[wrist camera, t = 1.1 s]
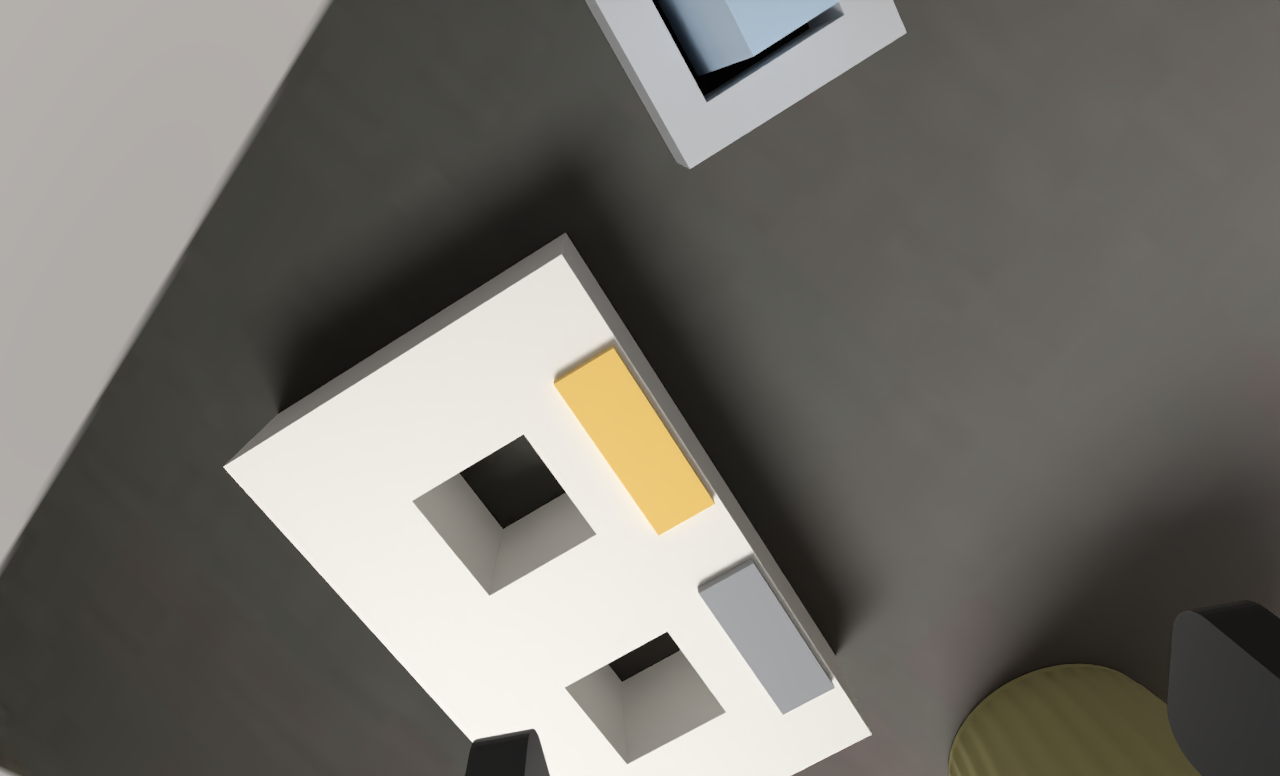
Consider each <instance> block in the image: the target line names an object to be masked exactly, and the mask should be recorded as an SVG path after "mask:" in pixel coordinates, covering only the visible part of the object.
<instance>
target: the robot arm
mask: <svg viewBox="0 0 1280 776" xmlns="http://www.w3.org/2000/svg"><path fill="white" fill-rule="evenodd" d="M1167 714H1168V720H1169V724H1170V727H1171V730H1172V733H1173V735H1174V737H1175V740H1176V742H1177V744H1178V746H1179V747H1180V749H1181V751H1182V752H1183V754H1184V755H1185V757H1186V758H1187V759H1188V761H1189V762H1190V763H1191V764H1192V766H1193V767H1194V768H1195V769H1196V770H1197V771H1198V772H1199V773H1200V774H1201V775H1202V776H1280V619H1279V618H1278V617H1277V616H1275V615H1274V614H1273V613H1271V612H1270V611H1268V610H1267V609H1266V608H1264V607H1263V606H1261V605H1259V604H1257V603H1255V602H1252V601H1247V600H1242V601H1237V602H1231V603H1226V604H1220V605H1215V606H1210V607H1204V608H1199V609H1193V610H1188V611H1183V612H1181V613H1179V614H1178V615H1177V617H1176V618H1175V621H1174V624H1173V633H1172V646H1171V660H1170V673H1169V686H1168V700H1167ZM465 776H550V774H549V771H548V767H547V764H546V760H545V757H544V753H543V750H542V746H541V743H540V739H539V736H538V734H537V732H536V730H534V729H529V730H523V731H518V732H512V733H507V734H501V735H496V736H491V737H485V738H480V739H476V740H474V742H473V743H472V746H471V749H470V754H469V759H468V764H467V769H466V774H465Z"/></svg>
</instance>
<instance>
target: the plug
mask: <svg viewBox="0 0 1280 776" xmlns="http://www.w3.org/2000/svg"><path fill="white" fill-rule="evenodd" d="M657 1H658V3H659V5H660V7H661V8H662V10H663V12H664V14H665V16H666V18H667V20H668V22H669V23H670V25H671V27H672V29H673V31H674V33H675V35H676V37H677V38H678V40H679V42H680V44H681V46H682V48H683V50H684V52H685V53H686V55H687V57H688V59H689V61H690V63H691V65H692V66H693V68H694V70H695V72H696V74H697V76H701V75H704V74H706V73H709V72H712V71H715V70H718V69H720V68H723V67H726V66H729V65H732V64H734V63H737V62H740V61H743V60H746V59H748V58H751V57H754V56H755V55H757V54H758V53H760V52H762V51H763V50H765V49H766V48H768V47H769V46H771V45H772V44H774V43H776V42H777V41H779V40H780V39H782V38H783V37H785V36H786V35H788V34H790V33H791V32H793V31H794V30H796V29H797V28H799V27H800V26H802V25H804V24H805V23H807V22H808V21H810V20H811V19H813V18H814V17H816V16H818V15H819V14H821V13H822V12H824V11H825V10H827V9H828V8H830V7H832V6H833V5H835V4H836V3H838V2H839V1H841V0H657Z"/></svg>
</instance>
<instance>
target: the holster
mask: <svg viewBox="0 0 1280 776" xmlns="http://www.w3.org/2000/svg"><path fill="white" fill-rule="evenodd" d="M585 1H586V3H587V5H588V7H589V8H590V10H591V12H592V14H593V15H594V17H595V19H596V21H597V22H598V24H599V26H600V28H601V30H602V31H603V33H604V35H605V37H606V38H607V40H608V42H609V44H610V45H611V47H612V49H613V51H614V53H615V54H616V56H617V58H618V60H619V61H620V63H621V65H622V67H623V68H624V70H625V72H626V74H627V76H628V77H629V79H630V81H631V83H632V84H633V86H634V88H635V90H636V91H637V93H638V95H639V97H640V99H641V100H642V102H643V104H644V106H645V107H646V109H647V111H648V113H649V114H650V116H651V118H652V120H653V122H654V123H655V125H656V127H657V129H658V130H659V132H660V134H661V136H662V137H663V139H664V141H665V143H666V145H667V146H668V148H669V150H670V152H671V153H672V155H673V157H674V159H675V160H676V162H677V163H679V164H681V165H683V166H685V167H687V168H689V169H691V168H692V167H694V166H696V165H697V164H699V163H700V162H702V161H704V160H705V159H707V158H708V157H710V156H712V155H713V154H715V153H716V152H718V151H720V150H721V149H723V148H724V147H726V146H727V145H729V144H731V143H732V142H734V141H735V140H737V139H739V138H740V137H742V136H743V135H745V134H747V133H748V132H750V131H751V130H753V129H754V128H756V127H758V126H759V125H761V124H762V123H764V122H766V121H767V120H769V119H770V118H772V117H774V116H775V115H777V114H778V113H780V112H782V111H783V110H785V109H786V108H788V107H789V106H791V105H793V104H794V103H796V102H797V101H799V100H801V99H802V98H804V97H805V96H807V95H809V94H810V93H812V92H813V91H815V90H817V89H818V88H820V87H821V86H823V85H824V84H826V83H828V82H829V81H831V80H832V79H834V78H836V77H837V76H839V75H840V74H842V73H844V72H845V71H847V70H848V69H850V68H851V67H853V66H855V65H856V64H858V63H859V62H861V61H863V60H864V59H866V58H867V57H869V56H871V55H872V54H874V53H875V52H877V51H879V50H880V49H882V48H883V47H885V46H886V45H888V44H890V43H891V42H893V41H894V40H896V39H898V38H899V37H901V36H902V35H904V34H906V33H907V32H906V30H905V28H904V25H903V23H902V21H901V18H900V16H899V14H898V11H897V9H896V7H895V4H894V2H893V0H841V1H839V2H838V3H836V4H835V5H833V6H832V7H830V8H828V9H827V10H825V11H824V12H822V13H821V14H819V15H818V16H816V17H814V18H813V19H811V20H810V21H808V22H807V24H808V26H809V28H810V29H808V30H806V31H805V32H803V33H802V34H800V35H799V36H797V37H796V38H794V39H792V40H791V41H789V42H788V43H786V44H785V45H783V46H781V47H780V48H778V49H777V50H775V51H774V52H772V53H771V54H769V55H767V56H766V57H764V58H763V59H761V60H760V61H758V62H757V63H755V64H753V65H752V66H750V67H749V68H747V69H746V70H744V71H742V72H741V73H739V74H738V75H736V76H735V77H733V78H732V79H730V80H728V81H727V82H725V83H724V84H722V85H721V86H719V87H717V88H716V89H714V90H713V91H711V92H710V93H708V94H707V95H705V96H703V94H702V93H701V91H700V89H699V87H698V85H697V83H696V81H695V79H694V78H693V76H692V74H691V72H690V70H689V68H688V66H687V65H686V63H685V61H684V59H683V57H682V55H681V53H680V52H679V50H678V48H677V46H676V44H675V42H674V40H673V38H672V37H671V35H670V33H669V31H668V29H667V27H666V25H665V24H664V22H663V20H662V18H661V16H660V14H659V12H658V10H657V9H656V7H655V5H654V3H653V1H652V0H585Z"/></svg>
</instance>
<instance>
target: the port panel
mask: <svg viewBox="0 0 1280 776" xmlns="http://www.w3.org/2000/svg"><path fill="white" fill-rule="evenodd" d="M523 434H524V436H525V437H526V438H527V440H528V441H529V443H530V444H531V445H532V447H533V448H534V449H535V451H536V452H537V454H538V455H539V456H540V458H541V459H542V460H543V462H544V463H545V464H546V466H547V467H548V469H549V470H550V471H551V473H552V474H553V475H554V477H555V478H556V480H557V481H558V482H559V484H560V485H561V486H562V488H563V489H564V491H565V492H566V493H564V494H562V495H561V496H559V497H557V498H555V499H554V500H552V501H550V502H549V503H547V504H545V505H543V506H542V507H540V508H538V509H537V510H535V511H533V512H531V513H530V514H528V515H526V516H525V517H523V518H521V519H519V520H518V521H516V522H514V523H513V524H511V525H509V526H507V527H506V528H504V529H503V528H502V527H501V526H500V525H499V523H498V522H497V521H496V520H495V518H494V517H493V516H492V514H491V513H490V512H489V511H488V509H487V508H486V507H485V505H484V504H483V503H482V502H481V500H480V499H479V498H478V496H477V495H476V494H475V493H474V491H473V490H472V489H471V487H470V486H469V485H468V484H467V482H466V481H465V480H464V478H463V477H462V476H461V475H460V472H461V471H463V470H465V469H466V468H468V467H470V466H471V465H473V464H475V463H476V462H478V461H480V460H482V459H483V458H485V457H487V456H488V455H490V454H492V453H493V452H495V451H497V450H498V449H500V448H502V447H503V446H505V445H507V444H508V443H510V442H512V441H513V440H515V439H517V438H518V437H520V436H522V435H523ZM223 467H224V468H225V470H226V471H227V472H228V473H229V474H230V475H231V476H232V477H233V478H234V480H235V481H236V482H237V483H238V484H239V485H240V486H241V487H242V488H243V489H244V491H245V492H246V493H247V494H248V495H249V496H250V497H251V498H252V499H253V501H254V502H255V503H256V504H257V505H258V506H259V507H260V508H261V509H262V510H263V512H264V513H265V514H266V515H267V516H268V517H269V518H270V519H271V520H272V522H273V523H274V524H275V525H276V526H277V527H278V528H279V529H280V530H281V532H282V533H283V534H284V535H285V536H286V537H287V538H288V539H289V540H290V541H291V543H292V544H293V545H294V546H295V547H296V548H297V549H298V550H299V551H300V553H301V554H302V555H303V556H304V557H305V558H306V559H307V560H308V561H309V562H310V564H311V565H312V566H313V567H314V568H315V569H316V570H317V571H318V572H319V574H320V575H321V576H322V577H323V578H324V579H325V580H326V581H327V582H328V583H329V585H330V586H331V587H332V588H333V589H334V590H335V591H336V592H337V593H338V595H339V596H340V597H341V598H342V599H343V600H344V601H345V602H346V603H347V604H348V606H349V607H350V608H351V609H352V610H353V611H354V612H355V613H356V614H357V616H358V617H359V618H360V619H361V620H362V621H363V622H364V623H365V624H366V625H367V627H368V628H369V629H370V630H371V631H372V632H373V633H374V634H375V635H376V637H377V638H378V639H379V640H380V641H381V642H382V643H383V644H384V645H385V646H386V648H387V649H388V650H389V651H390V652H391V653H392V654H393V655H394V656H395V658H396V659H397V660H398V661H399V662H400V663H401V664H402V665H403V666H404V668H405V669H406V670H407V671H408V672H409V673H410V674H411V675H412V676H413V677H414V679H415V680H416V681H417V682H418V683H419V684H420V685H421V686H422V687H423V689H424V690H425V691H426V692H427V693H428V694H429V695H430V696H431V697H432V698H433V700H434V701H435V702H436V703H437V704H438V705H439V706H440V707H441V708H442V710H443V711H444V712H445V713H446V714H447V715H448V716H449V717H450V718H451V719H452V721H453V722H454V723H455V724H456V725H457V726H458V727H459V728H460V729H461V731H462V732H463V733H464V734H465V735H466V736H467V737H468V738H469V739H470V740H471V742H472V743H473V742H474V740H476V739H480V738H485V737H491V736H496V735H501V734H507V733H512V732H518V731H523V730H529V729H534V730H536V732H537V734H538V736H539V739H540V743H541V746H542V750H543V753H544V757H545V760H546V764H547V767H548V771H549V774H550V776H791V775H793V774H795V773H797V772H799V771H801V770H803V769H805V768H807V767H809V766H811V765H813V764H815V763H817V762H819V761H821V760H823V759H825V758H827V757H829V756H831V755H832V754H834V753H836V752H838V751H840V750H842V749H844V748H846V747H848V746H850V745H852V744H854V743H856V742H858V741H860V740H862V739H864V738H866V737H868V736H870V735H872V733H871V731H870V729H869V727H868V725H867V722H866V720H865V718H864V716H863V714H862V712H861V709H860V707H859V705H858V703H857V701H856V699H855V696H854V694H853V692H852V690H851V688H850V686H849V683H848V681H847V679H846V677H845V675H844V673H843V670H842V668H841V666H840V664H839V662H838V660H837V657H836V656H835V654H834V652H833V651H832V649H831V648H830V646H829V645H828V643H827V642H826V640H825V638H824V637H823V635H822V634H821V632H820V631H819V629H818V627H817V626H816V624H815V623H814V621H813V620H812V618H811V616H810V615H809V613H808V612H807V610H806V609H805V607H804V605H803V604H802V602H801V601H800V599H799V598H798V596H797V594H796V593H795V591H794V590H793V588H792V587H791V585H790V583H789V582H788V580H787V579H786V577H785V576H784V574H783V573H782V571H781V569H780V568H779V566H778V565H777V563H776V562H775V560H774V558H773V557H772V555H771V554H770V552H769V551H768V549H767V547H766V546H765V544H764V543H763V541H762V540H761V538H760V536H759V535H758V533H757V532H756V530H755V529H754V527H753V525H752V524H751V522H750V521H749V519H748V518H747V516H746V514H745V513H744V511H743V510H742V508H741V507H740V505H739V504H738V502H737V500H736V499H735V497H734V496H733V494H732V493H731V491H730V489H729V488H728V486H727V485H726V483H725V482H724V480H723V478H722V477H721V475H720V474H719V472H718V471H717V469H716V467H715V466H714V464H713V463H712V461H711V460H710V458H709V456H708V455H707V453H706V452H705V450H704V449H703V447H702V446H701V444H700V442H699V441H698V439H697V438H696V436H695V435H694V433H693V431H692V430H691V428H690V427H689V425H688V424H687V422H686V420H685V419H684V417H683V416H682V414H681V413H680V411H679V409H678V408H677V406H676V405H675V403H674V402H673V400H672V398H671V397H670V395H669V394H668V392H667V391H666V389H665V387H664V386H663V384H662V383H661V381H660V380H659V378H658V377H657V375H656V373H655V372H654V370H653V369H652V367H651V366H650V364H649V362H648V361H647V359H646V358H645V356H644V355H643V353H642V351H641V350H640V348H639V347H638V345H637V344H636V342H635V340H634V339H633V337H632V336H631V334H630V333H629V331H628V329H627V328H626V326H625V325H624V323H623V322H622V320H621V318H620V317H619V315H618V314H617V312H616V311H615V309H614V308H613V306H612V304H611V303H610V301H609V300H608V298H607V297H606V295H605V293H604V292H603V290H602V289H601V287H600V286H599V284H598V282H597V281H596V279H595V278H594V276H593V275H592V273H591V271H590V270H589V268H588V267H587V265H586V264H585V262H584V260H583V259H582V257H581V256H580V254H579V253H578V251H577V249H576V248H575V246H574V245H573V243H572V242H571V240H570V239H569V237H568V235H567V234H566V233H564V234H562V235H561V236H559V237H558V238H556V239H554V240H553V241H551V242H550V243H548V244H547V245H545V246H543V247H542V248H540V249H539V250H537V251H535V252H534V253H532V254H531V255H529V256H528V257H526V258H524V259H523V260H521V261H520V262H518V263H516V264H515V265H513V266H512V267H510V268H509V269H507V270H505V271H504V272H502V273H501V274H499V275H497V276H496V277H494V278H493V279H491V280H490V281H488V282H486V283H485V284H483V285H482V286H480V287H478V288H477V289H475V290H474V291H472V292H471V293H469V294H467V295H466V296H464V297H463V298H461V299H459V300H458V301H456V302H455V303H453V304H452V305H450V306H448V307H447V308H445V309H444V310H442V311H440V312H439V313H437V314H436V315H434V316H433V317H431V318H429V319H428V320H426V321H425V322H423V323H421V324H420V325H418V326H417V327H415V328H414V329H412V330H410V331H409V332H407V333H406V334H404V335H402V336H401V337H399V338H398V339H396V340H395V341H393V342H391V343H390V344H388V345H387V346H385V347H383V348H382V349H380V350H379V351H377V352H376V353H374V354H372V355H371V356H369V357H368V358H366V359H364V360H363V361H361V362H360V363H358V364H357V365H355V366H353V367H352V368H350V369H349V370H347V371H345V372H344V373H342V374H341V375H339V376H338V377H336V378H334V379H333V380H331V381H330V382H328V383H326V384H325V385H323V386H322V387H320V388H319V389H317V390H315V391H314V392H312V393H311V394H309V395H307V396H306V397H304V398H303V399H301V400H300V401H298V402H296V403H295V404H293V405H292V406H290V407H288V408H287V409H285V410H284V411H282V412H281V413H279V414H277V415H276V416H275V417H274V418H273V419H272V420H271V421H270V422H269V423H268V424H267V425H266V426H265V427H264V428H263V429H262V430H261V431H260V432H259V433H258V434H257V435H256V436H255V437H254V438H252V439H251V440H250V441H249V442H248V443H247V444H246V445H245V446H244V447H243V448H242V449H241V450H240V451H239V452H238V453H237V454H236V455H235V456H234V457H233V458H232V459H231V460H230V461H229V462H228V463H227V464H225V465H224V466H223ZM666 632H668V633H669V635H670V636H671V637H672V639H673V640H674V642H675V643H676V644H677V646H678V647H679V648H680V651H678V652H676V653H674V654H673V655H671V656H669V657H667V658H665V659H663V660H662V661H660V662H658V663H656V664H654V665H652V666H650V667H649V668H647V669H645V670H643V671H641V672H639V673H638V674H636V675H634V676H632V677H630V678H628V679H626V680H625V681H623V682H622V681H621V680H620V679H619V677H618V676H617V675H616V674H615V672H614V671H613V670H612V668H611V667H610V666H609V665H608V664H609V663H611V662H613V661H614V660H616V659H618V658H620V657H622V656H624V655H625V654H627V653H629V652H631V651H633V650H634V649H636V648H638V647H640V646H642V645H644V644H645V643H647V642H649V641H651V640H653V639H655V638H656V637H658V636H660V635H662V634H664V633H666Z"/></svg>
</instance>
